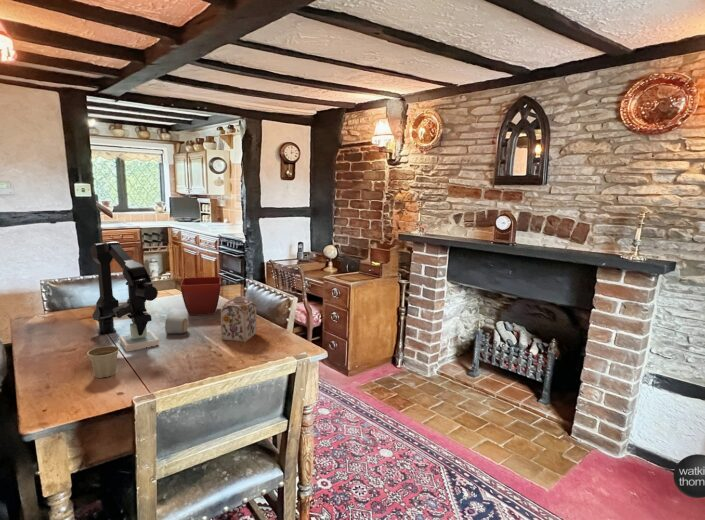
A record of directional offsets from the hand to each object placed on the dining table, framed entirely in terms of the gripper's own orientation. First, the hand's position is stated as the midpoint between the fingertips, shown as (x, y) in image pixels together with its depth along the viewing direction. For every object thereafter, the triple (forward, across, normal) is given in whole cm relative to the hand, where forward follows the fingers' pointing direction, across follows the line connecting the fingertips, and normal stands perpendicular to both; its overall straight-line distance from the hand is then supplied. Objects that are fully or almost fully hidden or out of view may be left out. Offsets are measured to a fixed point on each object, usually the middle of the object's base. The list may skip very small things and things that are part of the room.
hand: (138, 333), depth 170 cm
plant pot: (+5, -31, +37) cm, 48 cm away
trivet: (+4, 0, 0) cm, 4 cm away
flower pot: (+5, +24, -16) cm, 29 cm away
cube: (+1, 0, 0) cm, 1 cm away
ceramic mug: (+5, -6, +17) cm, 19 cm away
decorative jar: (+5, +15, +37) cm, 40 cm away
